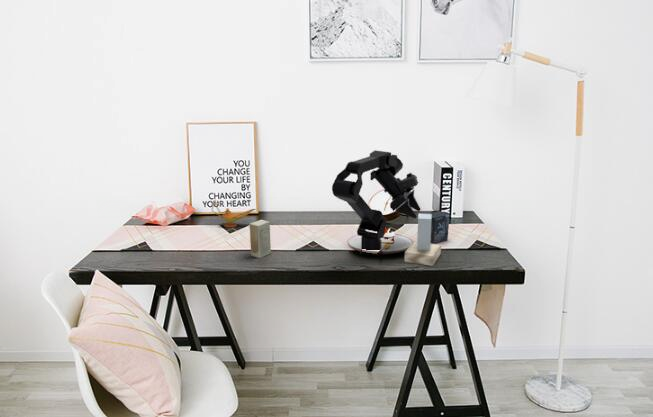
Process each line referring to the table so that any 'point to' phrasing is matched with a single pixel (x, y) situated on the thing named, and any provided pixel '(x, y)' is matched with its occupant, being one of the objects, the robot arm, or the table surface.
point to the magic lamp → (231, 216)
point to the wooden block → (422, 254)
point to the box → (439, 227)
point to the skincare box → (260, 238)
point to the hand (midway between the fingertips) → (417, 213)
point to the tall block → (424, 232)
